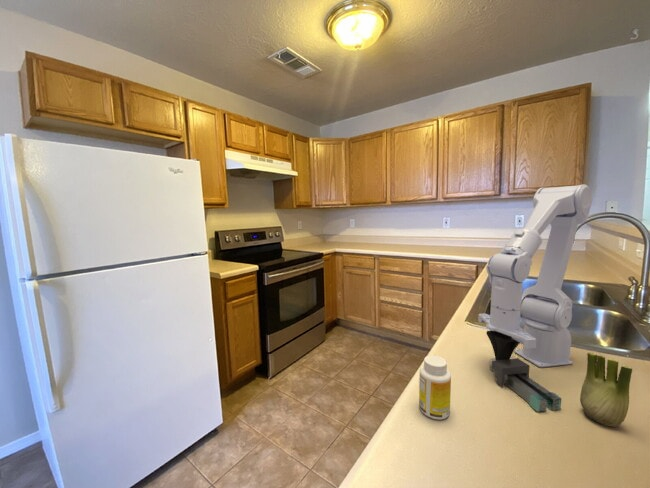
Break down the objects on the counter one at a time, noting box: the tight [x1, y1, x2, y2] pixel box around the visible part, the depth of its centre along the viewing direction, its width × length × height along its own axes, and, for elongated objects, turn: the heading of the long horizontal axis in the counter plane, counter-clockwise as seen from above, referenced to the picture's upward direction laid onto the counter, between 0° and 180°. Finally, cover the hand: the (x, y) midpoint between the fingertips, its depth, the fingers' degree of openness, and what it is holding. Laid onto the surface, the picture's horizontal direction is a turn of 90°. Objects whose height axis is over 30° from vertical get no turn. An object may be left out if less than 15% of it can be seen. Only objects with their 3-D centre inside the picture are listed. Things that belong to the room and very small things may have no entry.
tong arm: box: [493, 370, 547, 412], centre depth 58 cm, size 2×12×2 cm, turn 7°
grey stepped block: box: [491, 357, 531, 388], centre depth 62 cm, size 7×3×4 cm, turn 98°
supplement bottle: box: [418, 355, 452, 420], centre depth 53 cm, size 6×6×10 cm
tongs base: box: [489, 357, 562, 412], centre depth 60 cm, size 4×15×2 cm, turn 8°
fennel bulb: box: [579, 351, 633, 428], centre depth 50 cm, size 6×5×12 cm
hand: (502, 363), depth 64 cm, fingers closed
